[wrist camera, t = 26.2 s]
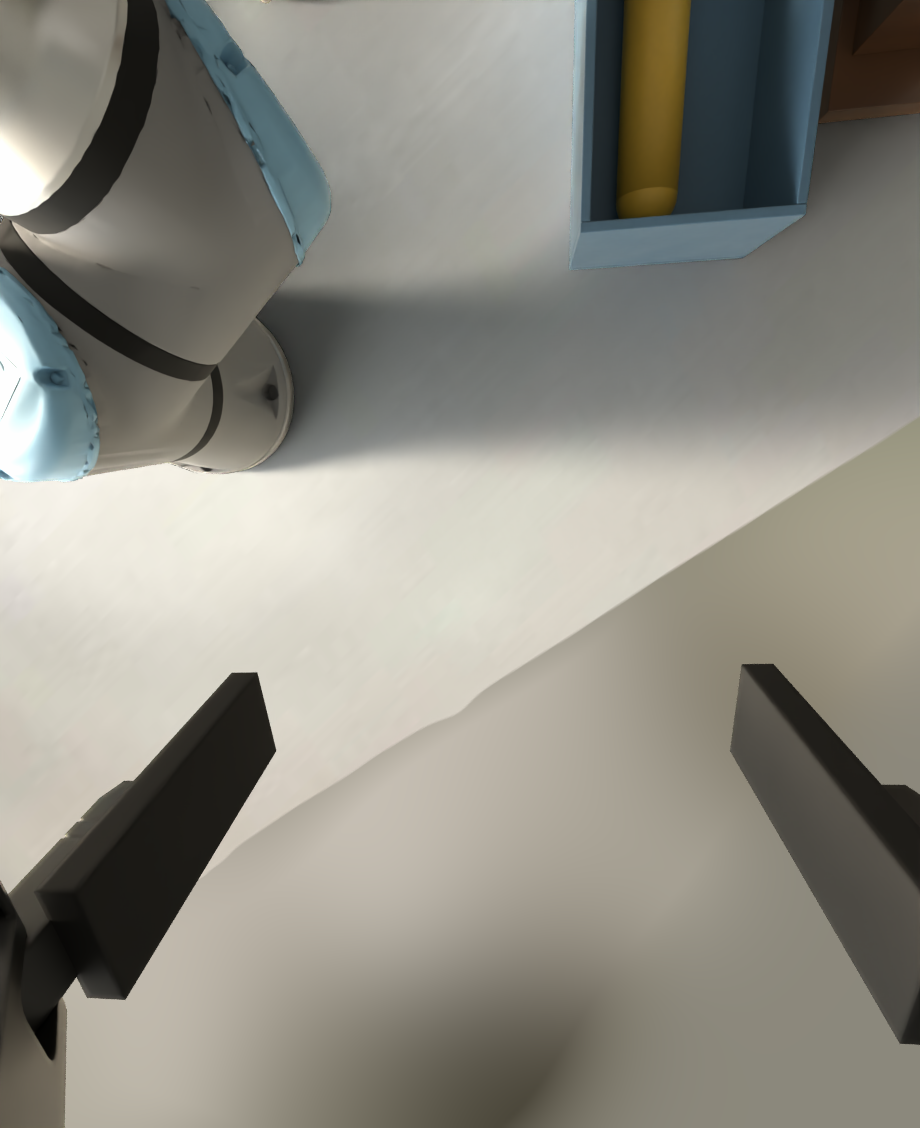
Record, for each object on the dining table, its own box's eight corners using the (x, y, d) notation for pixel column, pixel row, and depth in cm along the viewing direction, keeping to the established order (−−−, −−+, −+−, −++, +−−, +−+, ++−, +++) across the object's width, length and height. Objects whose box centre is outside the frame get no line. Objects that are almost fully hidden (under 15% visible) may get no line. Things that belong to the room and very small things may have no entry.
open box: (743, 258, 40) (806, 214, 31) (569, 270, 42) (580, 233, 33) (788, -169, 33) (888, -389, 24) (577, -133, 35) (595, -324, 26)
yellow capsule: (686, 229, 38) (655, 218, 35) (634, 244, 41) (603, 235, 38) (714, -145, 32) (680, -191, 29) (651, -94, 35) (615, -132, 32)
